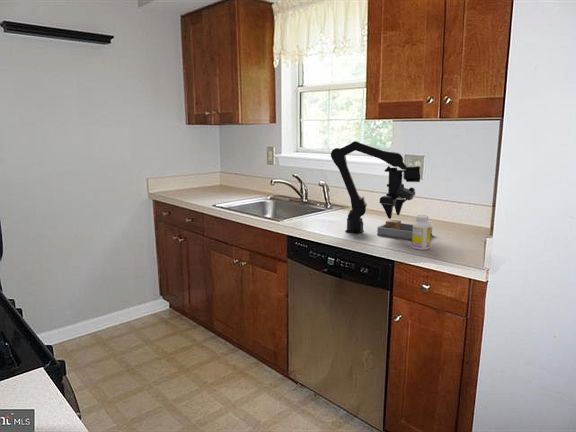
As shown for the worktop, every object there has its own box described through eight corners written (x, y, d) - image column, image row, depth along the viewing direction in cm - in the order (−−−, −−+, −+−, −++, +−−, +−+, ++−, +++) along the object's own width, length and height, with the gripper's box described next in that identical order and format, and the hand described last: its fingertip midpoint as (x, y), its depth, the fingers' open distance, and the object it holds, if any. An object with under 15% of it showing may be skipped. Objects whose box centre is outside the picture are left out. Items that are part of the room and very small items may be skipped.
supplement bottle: (426, 245, 174) (427, 214, 171) (432, 250, 167) (433, 217, 165) (409, 245, 174) (411, 214, 171) (414, 250, 167) (416, 218, 164)
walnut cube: (385, 232, 193) (385, 221, 192) (390, 230, 197) (390, 219, 196) (395, 233, 190) (396, 222, 189) (400, 231, 194) (400, 220, 193)
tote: (377, 234, 191) (377, 227, 190) (390, 228, 202) (390, 221, 201) (420, 241, 179) (421, 233, 179) (431, 234, 190) (432, 227, 189)
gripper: (404, 185, 177) (403, 222, 180) (420, 180, 192) (419, 215, 195) (379, 183, 183) (378, 219, 187) (397, 179, 198) (395, 212, 201)
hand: (393, 216), depth 192 cm, fingers open, 9 cm apart
